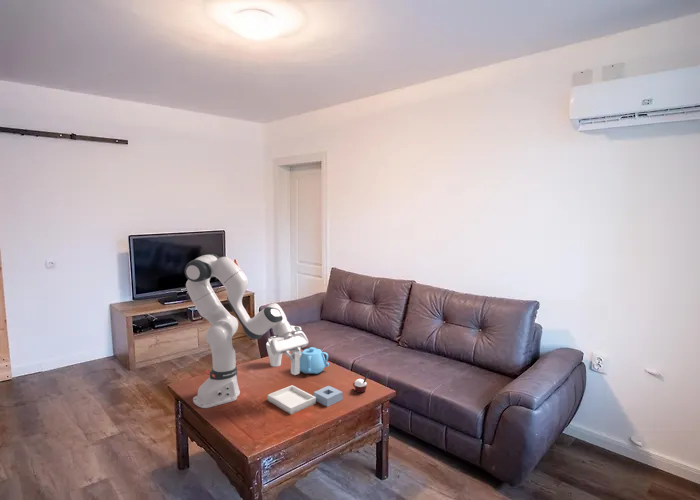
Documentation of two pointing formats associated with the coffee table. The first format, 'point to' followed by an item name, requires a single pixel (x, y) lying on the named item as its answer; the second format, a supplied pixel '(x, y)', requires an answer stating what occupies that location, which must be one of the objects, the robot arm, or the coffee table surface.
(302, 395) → the tray
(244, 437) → the coffee table surface
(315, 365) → the decorative pot
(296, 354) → the pin
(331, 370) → the coffee table surface
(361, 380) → the cocoa
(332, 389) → the socket block
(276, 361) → the cup
